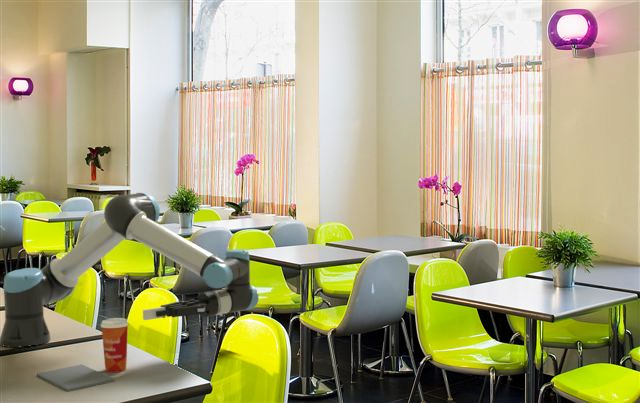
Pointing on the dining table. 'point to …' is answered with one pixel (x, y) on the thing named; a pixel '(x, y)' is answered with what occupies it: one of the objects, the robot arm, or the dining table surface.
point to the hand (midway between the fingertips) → (144, 315)
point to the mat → (75, 377)
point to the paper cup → (115, 343)
